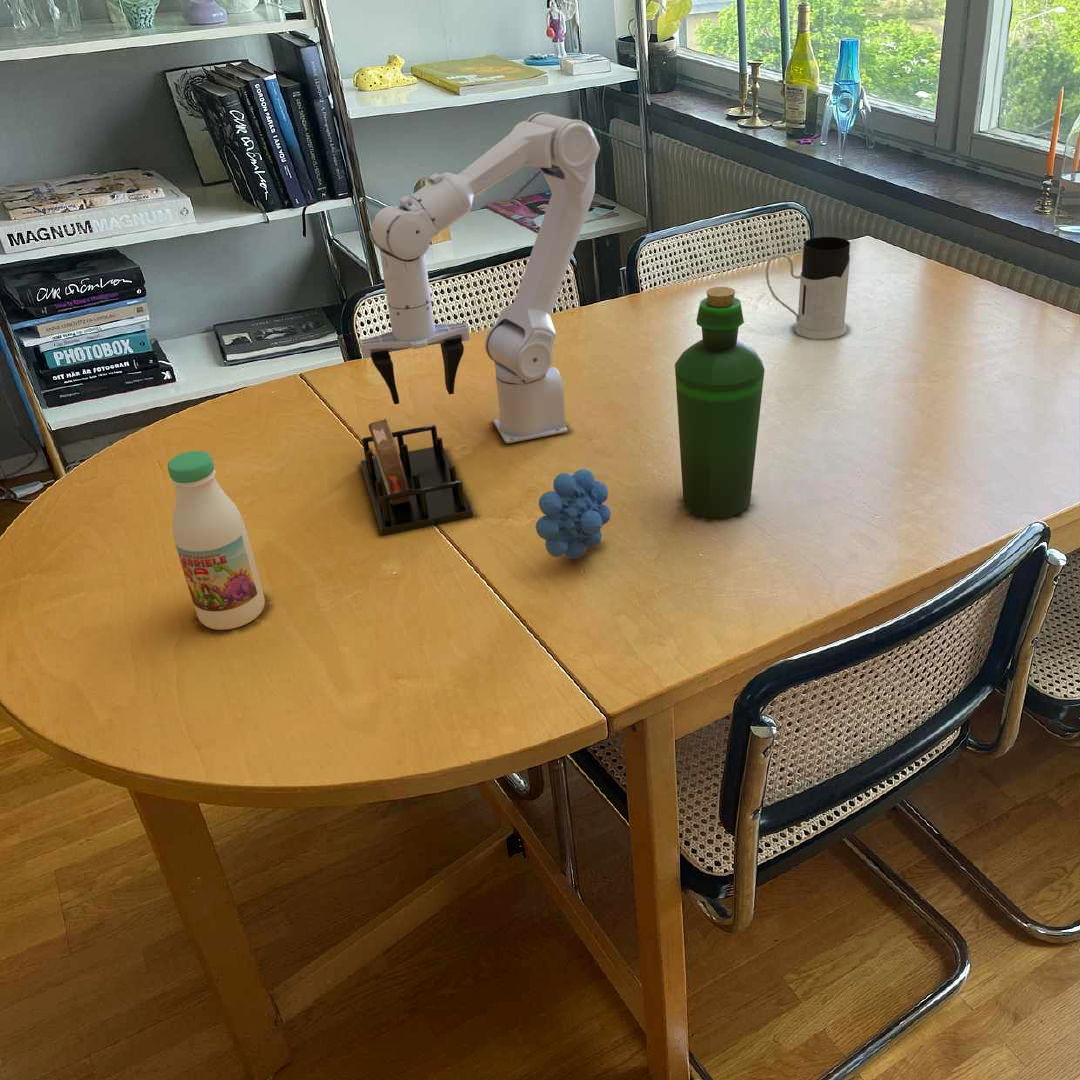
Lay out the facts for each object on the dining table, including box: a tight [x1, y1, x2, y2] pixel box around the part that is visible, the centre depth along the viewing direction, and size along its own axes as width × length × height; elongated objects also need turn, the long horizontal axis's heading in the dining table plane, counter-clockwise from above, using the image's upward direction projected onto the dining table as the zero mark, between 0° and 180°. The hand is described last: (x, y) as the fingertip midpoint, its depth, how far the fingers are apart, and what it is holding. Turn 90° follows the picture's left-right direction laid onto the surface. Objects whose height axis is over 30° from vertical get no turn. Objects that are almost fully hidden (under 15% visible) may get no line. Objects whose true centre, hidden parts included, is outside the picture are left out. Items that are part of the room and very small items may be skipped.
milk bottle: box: [167, 450, 266, 631], centre depth 115 cm, size 8×8×20 cm
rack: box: [360, 424, 474, 536], centre depth 140 cm, size 12×20×5 cm, turn 16°
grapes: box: [535, 468, 611, 560], centre depth 121 cm, size 12×7×12 cm, turn 135°
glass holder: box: [765, 236, 851, 340], centre depth 175 cm, size 9×14×15 cm, turn 89°
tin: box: [367, 418, 411, 505], centre depth 138 cm, size 15×3×8 cm, turn 16°
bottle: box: [674, 286, 765, 518], centre depth 125 cm, size 11×11×28 cm
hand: (423, 396), depth 143 cm, fingers open, 7 cm apart
